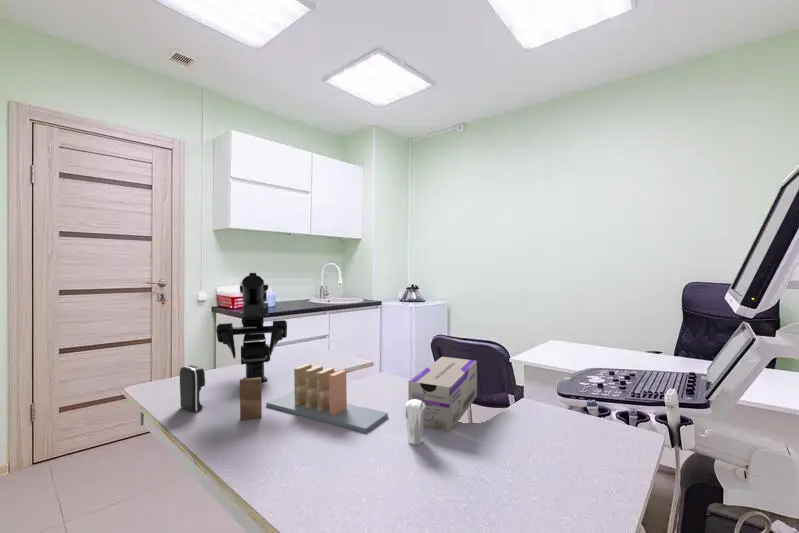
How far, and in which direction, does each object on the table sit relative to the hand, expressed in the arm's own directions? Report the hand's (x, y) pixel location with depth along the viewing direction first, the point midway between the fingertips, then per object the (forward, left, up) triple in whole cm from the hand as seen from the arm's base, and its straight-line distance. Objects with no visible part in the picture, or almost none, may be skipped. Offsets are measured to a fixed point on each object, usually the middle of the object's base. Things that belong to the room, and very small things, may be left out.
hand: (252, 356), depth 104 cm
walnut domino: (+8, -2, -14) cm, 16 cm away
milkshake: (+43, +24, -14) cm, 51 cm away
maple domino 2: (+12, +13, -13) cm, 22 cm away
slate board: (+15, +14, -14) cm, 25 cm away
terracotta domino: (+19, +16, -13) cm, 28 cm away
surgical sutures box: (+33, +41, -14) cm, 55 cm away
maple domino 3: (+16, +15, -13) cm, 25 cm away
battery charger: (-8, -13, -14) cm, 21 cm away
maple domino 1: (+8, +11, -13) cm, 19 cm away
